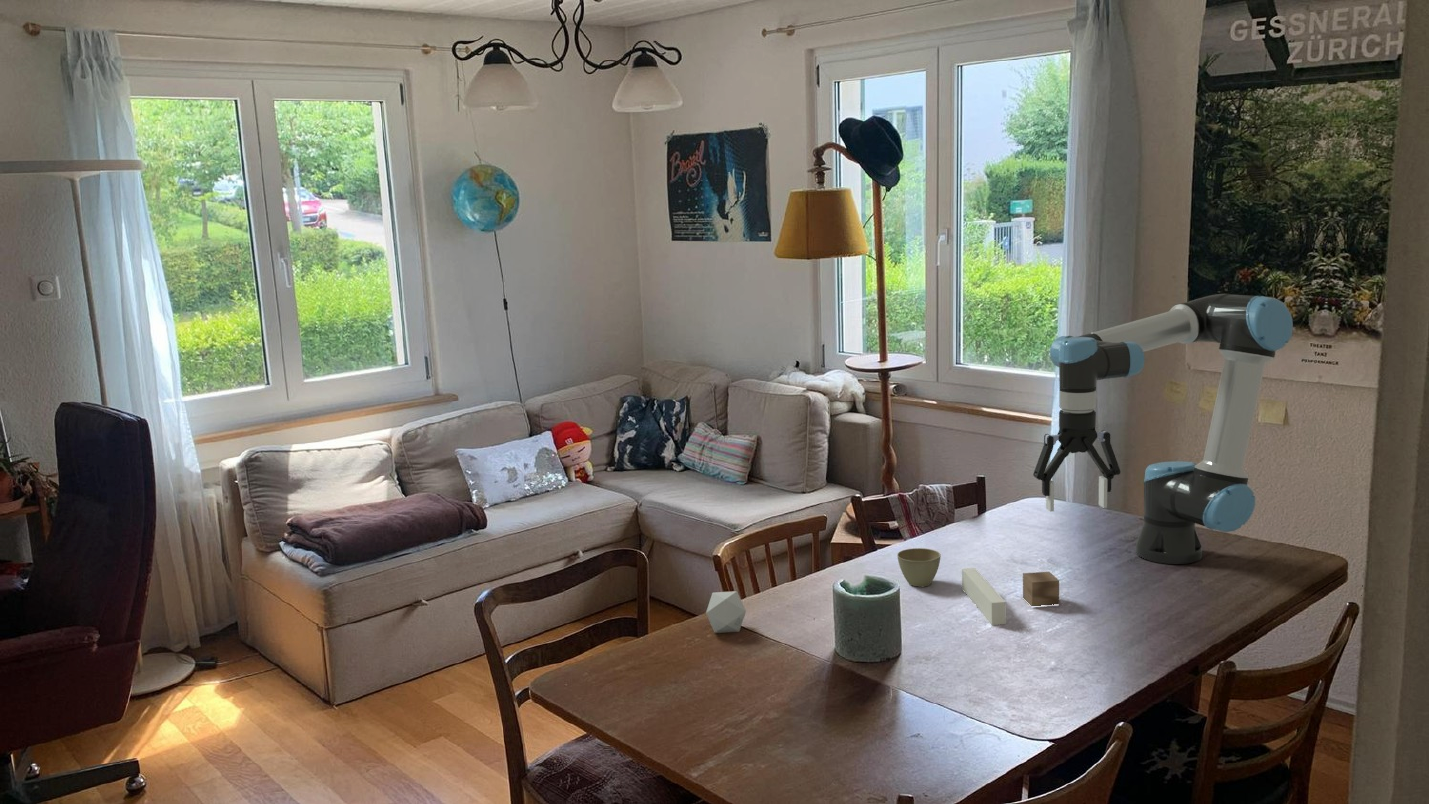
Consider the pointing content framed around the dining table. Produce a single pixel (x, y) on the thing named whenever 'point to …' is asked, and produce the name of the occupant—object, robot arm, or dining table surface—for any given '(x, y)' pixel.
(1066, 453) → the robot arm
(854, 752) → the dining table surface
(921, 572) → the flower pot
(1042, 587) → the block
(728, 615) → the die
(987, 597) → the board
